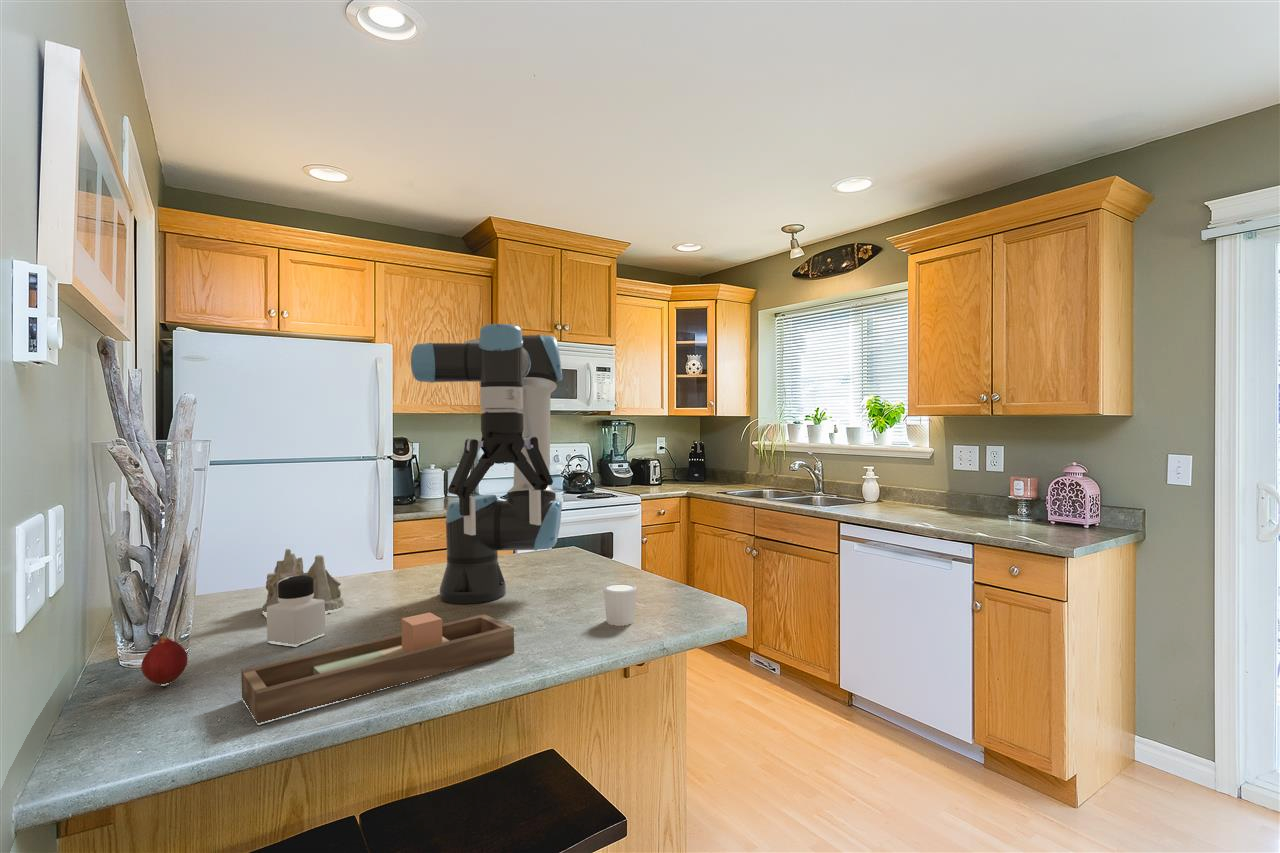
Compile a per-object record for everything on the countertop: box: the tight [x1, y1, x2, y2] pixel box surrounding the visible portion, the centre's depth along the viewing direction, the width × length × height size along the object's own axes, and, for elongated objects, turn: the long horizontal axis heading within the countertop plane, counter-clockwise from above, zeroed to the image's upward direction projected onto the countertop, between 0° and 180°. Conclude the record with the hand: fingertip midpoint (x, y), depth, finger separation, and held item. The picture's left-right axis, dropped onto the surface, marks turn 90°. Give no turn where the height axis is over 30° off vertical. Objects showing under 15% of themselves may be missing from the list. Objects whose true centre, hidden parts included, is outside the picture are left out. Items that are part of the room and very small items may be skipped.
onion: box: [141, 636, 189, 686], centre depth 102 cm, size 6×6×8 cm
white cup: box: [602, 583, 638, 627], centre depth 131 cm, size 7×7×7 cm
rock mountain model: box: [261, 548, 345, 612], centre depth 143 cm, size 16×16×15 cm
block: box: [400, 612, 443, 652], centre depth 109 cm, size 5×5×5 cm
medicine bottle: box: [266, 575, 326, 645], centre depth 122 cm, size 7×7×12 cm
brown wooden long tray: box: [240, 613, 515, 723], centre depth 105 cm, size 11×40×4 cm, turn 131°
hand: (503, 529), depth 116 cm, fingers open, 13 cm apart
